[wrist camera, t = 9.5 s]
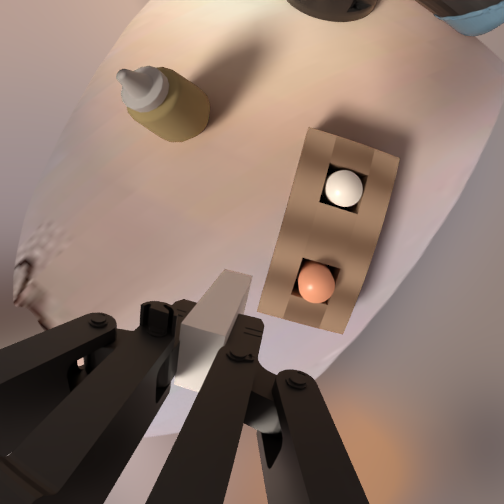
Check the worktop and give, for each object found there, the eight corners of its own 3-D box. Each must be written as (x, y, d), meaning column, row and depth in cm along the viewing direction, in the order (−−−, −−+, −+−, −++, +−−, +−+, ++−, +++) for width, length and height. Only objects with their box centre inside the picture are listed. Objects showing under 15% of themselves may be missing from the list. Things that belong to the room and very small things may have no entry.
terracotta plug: (302, 252, 37) (305, 264, 31) (332, 261, 37) (339, 274, 31) (293, 281, 38) (294, 297, 32) (322, 289, 38) (327, 307, 32)
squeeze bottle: (186, 83, 36) (124, 25, 18) (229, 111, 36) (184, 55, 18) (151, 127, 37) (72, 95, 20) (192, 157, 38) (122, 136, 20)
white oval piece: (325, 169, 35) (332, 165, 30) (354, 179, 35) (366, 176, 29) (317, 199, 36) (322, 200, 31) (346, 208, 36) (357, 211, 30)
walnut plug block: (305, 137, 35) (308, 127, 30) (383, 162, 35) (399, 158, 29) (261, 294, 40) (256, 311, 34) (336, 315, 40) (342, 334, 34)
